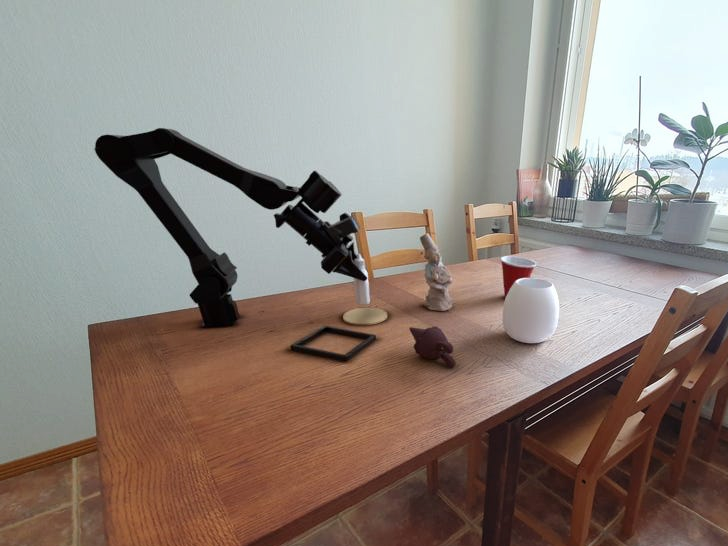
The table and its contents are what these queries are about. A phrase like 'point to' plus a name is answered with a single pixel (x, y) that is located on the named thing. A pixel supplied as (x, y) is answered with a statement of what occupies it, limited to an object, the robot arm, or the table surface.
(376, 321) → the cork trivet
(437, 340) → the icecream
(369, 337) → the empty black square frame
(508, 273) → the plastic cup
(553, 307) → the white vase
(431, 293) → the figurine
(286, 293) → the table surface
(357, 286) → the eye dropper bottle
